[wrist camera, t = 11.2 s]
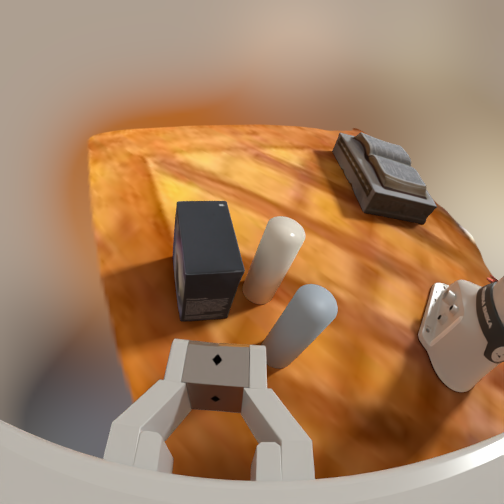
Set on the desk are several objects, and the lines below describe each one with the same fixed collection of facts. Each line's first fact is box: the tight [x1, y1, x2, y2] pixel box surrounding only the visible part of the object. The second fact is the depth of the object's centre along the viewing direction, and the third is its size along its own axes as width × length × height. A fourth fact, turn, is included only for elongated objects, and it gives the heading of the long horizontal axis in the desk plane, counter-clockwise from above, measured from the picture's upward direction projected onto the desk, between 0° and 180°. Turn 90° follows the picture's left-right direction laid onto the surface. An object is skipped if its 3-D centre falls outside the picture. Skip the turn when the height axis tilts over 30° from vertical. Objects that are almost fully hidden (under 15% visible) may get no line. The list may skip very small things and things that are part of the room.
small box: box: [173, 201, 245, 321], centre depth 37 cm, size 11×6×10 cm, turn 14°
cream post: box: [242, 216, 305, 304], centre depth 38 cm, size 4×4×12 cm
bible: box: [332, 132, 437, 224], centre depth 68 cm, size 23×27×10 cm
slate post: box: [261, 284, 338, 368], centre depth 33 cm, size 4×4×12 cm
